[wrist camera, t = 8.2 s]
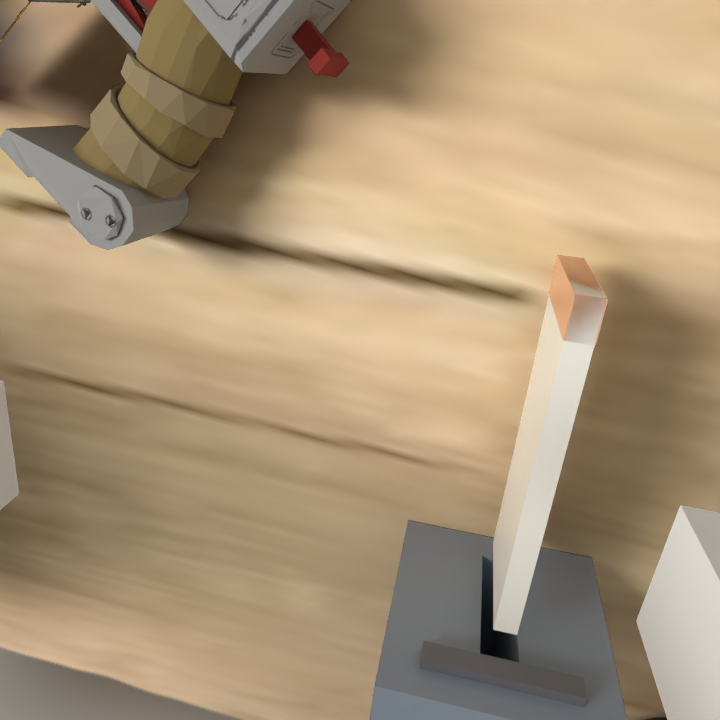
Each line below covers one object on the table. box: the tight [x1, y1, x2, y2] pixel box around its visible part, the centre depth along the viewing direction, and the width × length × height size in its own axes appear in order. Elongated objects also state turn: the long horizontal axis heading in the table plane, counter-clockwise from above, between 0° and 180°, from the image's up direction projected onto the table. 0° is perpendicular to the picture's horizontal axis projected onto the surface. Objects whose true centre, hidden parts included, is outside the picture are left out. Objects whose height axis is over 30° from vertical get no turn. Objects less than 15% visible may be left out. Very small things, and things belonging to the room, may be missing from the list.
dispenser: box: [370, 521, 627, 720], centre depth 36 cm, size 12×11×13 cm
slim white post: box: [493, 255, 608, 635], centre depth 31 cm, size 1×18×7 cm, turn 174°
